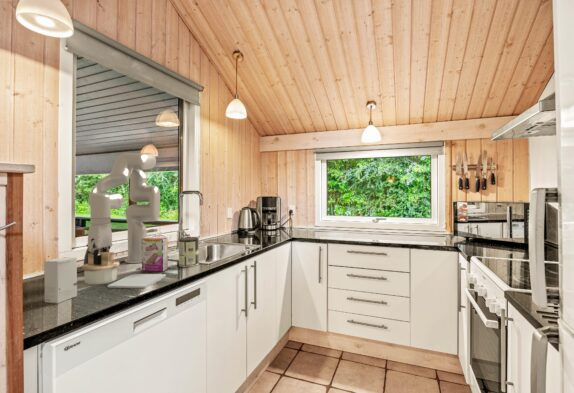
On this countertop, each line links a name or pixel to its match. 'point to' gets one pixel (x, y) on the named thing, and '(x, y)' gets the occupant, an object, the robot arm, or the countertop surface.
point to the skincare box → (60, 279)
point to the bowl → (100, 276)
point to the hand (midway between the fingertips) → (101, 262)
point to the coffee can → (188, 251)
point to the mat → (137, 281)
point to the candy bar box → (154, 254)
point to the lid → (101, 262)
